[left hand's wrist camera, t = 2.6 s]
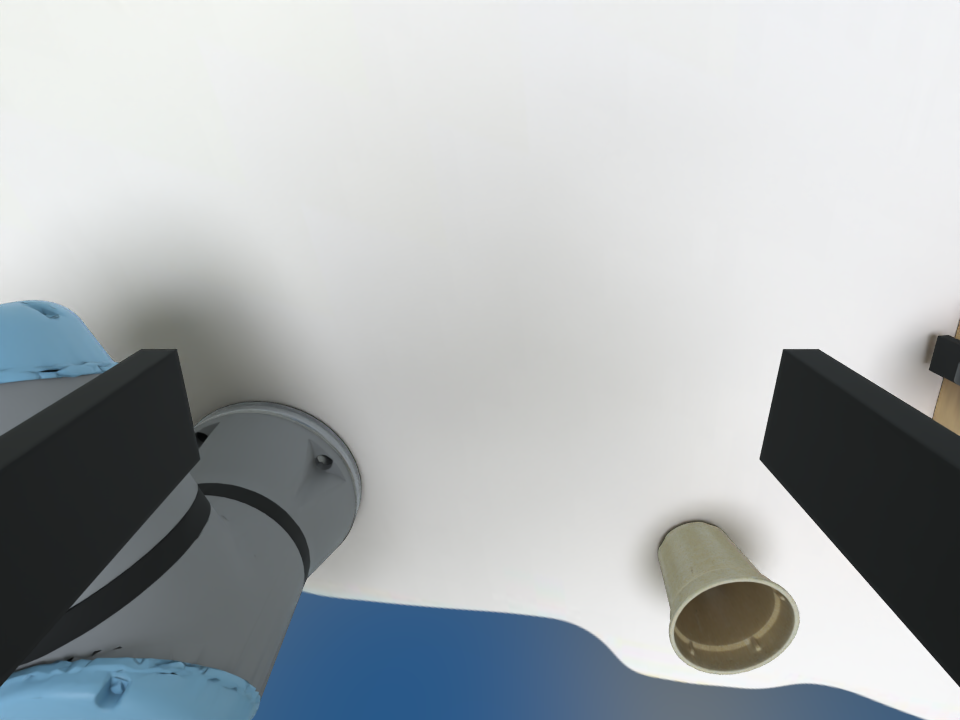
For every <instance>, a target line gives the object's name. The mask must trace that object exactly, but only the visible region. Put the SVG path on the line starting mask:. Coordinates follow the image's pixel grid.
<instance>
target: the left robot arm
mask: <svg viewBox="0 0 960 720" xmlns="http://www.w3.org/2000/svg"><path fill="white" fill-rule="evenodd" d="M760 460H761V462H762V463H763V464H764V465H765V466H766V467H767V468H768V470H769V471H770V472H771V473H772V474H773V475H774V476H775V477H776V479H777V480H778V481H779V482H780V483H781V484H782V485H783V487H784V488H785V489H786V490H787V491H788V492H789V493H790V495H791V496H792V497H793V498H794V499H795V500H796V501H797V503H798V504H799V505H800V506H801V507H802V508H803V509H804V510H805V512H806V513H807V514H808V515H809V516H810V517H811V518H812V520H813V521H814V522H815V523H816V524H817V525H818V526H819V528H820V529H821V530H822V531H823V532H824V533H825V534H826V536H827V537H828V538H829V539H830V540H831V541H832V542H833V543H834V545H835V546H836V547H837V548H838V549H839V550H840V551H841V553H842V554H843V555H844V556H845V557H846V558H847V559H848V561H849V562H850V563H851V564H852V565H853V566H854V567H855V569H856V570H857V571H858V572H859V573H860V574H861V575H862V576H863V578H864V579H865V580H866V581H867V582H868V583H869V584H870V586H871V587H872V588H873V589H874V590H875V591H876V592H877V594H878V595H879V596H880V597H881V598H882V599H883V600H884V602H885V603H886V604H887V605H888V606H889V607H890V608H891V609H892V611H893V612H894V613H895V614H896V615H897V616H898V617H899V619H900V620H901V621H902V622H903V623H904V624H905V625H906V627H907V628H908V629H909V630H910V631H911V632H912V633H913V635H914V636H915V637H916V638H917V639H918V640H919V641H920V642H921V644H922V645H923V646H924V647H925V648H926V649H927V650H928V652H929V653H930V654H931V655H932V656H933V657H934V658H935V660H936V661H937V662H938V663H939V664H940V665H941V666H942V668H943V669H944V670H945V671H946V672H947V673H948V674H949V675H950V677H951V678H952V679H953V680H954V681H955V682H956V683H957V685H958V686H959V687H960V436H959V435H957V434H956V433H954V432H952V431H951V430H949V429H948V428H946V427H944V426H943V425H941V424H939V423H938V422H936V421H935V420H933V419H931V418H930V417H928V416H926V415H925V414H923V413H921V412H920V411H918V410H917V409H915V408H913V407H912V406H910V405H908V404H907V403H905V402H904V401H902V400H900V399H899V398H897V397H895V396H894V395H892V394H891V393H889V392H887V391H886V390H884V389H882V388H881V387H879V386H878V385H876V384H874V383H873V382H871V381H869V380H868V379H866V378H865V377H863V376H861V375H860V374H858V373H856V372H855V371H853V370H852V369H850V368H848V367H847V366H845V365H843V364H842V363H840V362H838V361H837V360H835V359H834V358H832V357H830V356H829V355H827V354H825V353H824V352H822V351H821V350H819V349H783V352H782V357H781V362H780V366H779V371H778V376H777V380H776V385H775V390H774V394H773V399H772V403H771V408H770V413H769V417H768V422H767V427H766V431H765V436H764V441H763V445H762V450H761V455H760ZM360 499H361V480H360V475H359V471H358V468H357V465H356V462H355V460H354V458H353V456H352V454H351V453H350V451H349V449H348V448H347V446H346V445H345V444H344V443H343V441H342V440H341V439H340V438H339V437H338V436H337V435H336V434H335V433H334V432H333V431H332V430H331V429H330V428H329V427H327V426H326V425H325V424H323V423H322V422H321V421H319V420H318V419H316V418H314V417H313V416H311V415H309V414H307V413H305V412H303V411H300V410H298V409H295V408H292V407H289V406H286V405H281V404H277V403H270V402H243V403H237V404H233V405H229V406H226V407H223V408H220V409H218V410H216V411H214V412H212V413H210V414H209V415H207V416H206V417H204V418H203V419H202V420H200V421H199V422H198V423H197V424H196V425H195V426H194V427H193V422H192V417H191V413H190V408H189V403H188V399H187V394H186V390H185V385H184V380H183V376H182V371H181V366H180V362H179V357H178V352H177V349H141V350H139V351H138V352H136V353H135V354H133V355H131V356H130V357H128V358H126V359H125V360H123V361H122V362H120V363H117V362H114V361H113V360H112V359H111V358H110V356H109V355H108V354H107V352H106V351H105V350H104V349H103V347H102V346H101V345H100V343H99V342H98V341H97V340H96V338H95V337H94V336H93V334H92V333H91V332H90V330H89V329H88V328H87V327H86V325H85V324H84V323H83V321H82V320H81V319H80V318H79V317H78V316H77V315H76V314H75V313H74V312H72V311H71V310H69V309H68V308H66V307H64V306H62V305H59V304H56V303H52V302H47V301H39V300H28V301H18V302H11V303H6V304H0V720H251V719H252V718H253V717H254V715H255V714H256V711H257V710H258V708H259V704H260V700H261V697H262V694H263V692H264V689H265V687H266V684H267V681H268V679H269V676H270V674H271V671H272V668H273V666H274V663H275V660H276V658H277V655H278V652H279V650H280V647H281V645H282V642H283V639H284V637H285V634H286V631H287V629H288V626H289V624H290V621H291V618H292V616H293V613H294V610H295V608H296V605H297V602H298V600H299V597H300V595H301V592H302V589H303V587H304V584H305V582H306V580H307V578H308V577H309V576H310V575H311V574H312V573H313V572H314V571H315V570H316V569H317V568H318V567H319V566H320V565H321V564H322V563H323V562H324V561H325V560H326V558H327V557H328V556H329V555H330V554H331V553H332V552H333V551H334V550H335V549H336V548H337V547H338V546H339V545H340V544H341V543H342V542H343V541H344V540H345V538H346V537H347V535H348V534H349V532H350V530H351V528H352V525H353V522H354V519H355V517H356V514H357V511H358V508H359V504H360Z"/></svg>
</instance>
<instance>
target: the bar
mask: <svg viewBox="0 0 960 720" xmlns="http://www.w3.org/2000/svg"><path fill="white" fill-rule="evenodd" d="M955 338H956V339H959V340H960V322H959V326H958V329H957V333H956V336H955ZM933 420H935V421H936V422H938V423H939V424H941V425H943V426H944V427H946V428H948V429H949V430H951V431H952V432H954V433H956V434H957V435H959V436H960V386H959V385H957V384H955V383H953V382H951V381H950V380H948V379H946V378H944V379H943V383H942V386H941V390H940V394H939V397H938V401H937V404H936V408H935V412H934V415H933Z"/></svg>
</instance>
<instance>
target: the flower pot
mask: <svg viewBox="0 0 960 720" xmlns="http://www.w3.org/2000/svg"><path fill="white" fill-rule="evenodd" d="M658 559H659V563H660V567H661V571H662V575H663V579H664V583H665V588H666V592H667V596H668V601H669V605H670V609H671V610H670V624H669V637H670V642H671V645H672V647H673V649H674V651H675V653H676V654H677V655H678V657H679V658H680V659H681V660H682V661H683V662H685V663H686V664H687V665H689V666H691V667H693V668H695V669H697V670H699V671H703V672H706V673H712V674H719V675H721V674H722V675H724V674H726V675H727V674H737V673H738V674H739V673H742V672H746V671H747V672H748V671H750V670H753V669H756V668H758V667H761V666H763V665H765V664H767V663H769V662H770V661H772V660H773V659H775V658H776V657H778V656H779V655H780V654H781V653H782V652H783V651H784V650H785V649H786V648H787V647H788V646H789V645H790V643H791V642H792V640H793V639H794V637H795V635H796V633H797V630H798V627H799V618H800V617H799V611H798V607H797V605H796V603H795V601H794V600H793V598H792V597H791V595H790V594H789V593H788V592H787V591H786V590H785V589H784V588H782V587H781V586H780V585H778V584H776V583H774V582H772V581H771V580H770V579H768V578H767V577H765V576H764V575H762V574H761V573H760V572H759V571H758V570H757V569H756V568H755V567H754V565H753V564H752V563H751V562H750V561H749V560H748V559H747V558H746V557H745V555H744V554H743V553H742V552H741V551H740V550H739V549H738V548H737V547H736V545H735V544H734V543H733V542H732V541H731V540H730V539H729V538H728V536H727V535H726V534H725V533H724V532H723V531H722V530H721V529H720V528H718V527H716V526H712V525H709V524H706V523H704V522H691V523H687V524H683V525H681V526H678V527H677V528H675V529H673V530H672V531H670V532H669V533H668V534H667V536H666V537H665V539H664V541H663V543H662V544H661V546H660V547H659V550H658Z"/></svg>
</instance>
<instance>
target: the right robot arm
mask: <svg viewBox="0 0 960 720" xmlns="http://www.w3.org/2000/svg"><path fill="white" fill-rule="evenodd" d="M929 370H930V371H932V372H934V373H936V374H938V375H940V376H942V377H944V378H946V379H948V380H950V381H951V382H953V383H955V384H957V385H959V386H960V340H959V339H956V338H954V337H951V336H949V335H944V336H938V338H937V342H936V345H935V349H934V353H933V357H932V360H931V364H930V368H929Z"/></svg>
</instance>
